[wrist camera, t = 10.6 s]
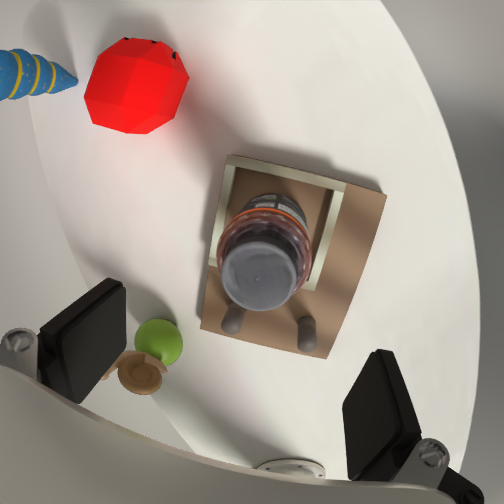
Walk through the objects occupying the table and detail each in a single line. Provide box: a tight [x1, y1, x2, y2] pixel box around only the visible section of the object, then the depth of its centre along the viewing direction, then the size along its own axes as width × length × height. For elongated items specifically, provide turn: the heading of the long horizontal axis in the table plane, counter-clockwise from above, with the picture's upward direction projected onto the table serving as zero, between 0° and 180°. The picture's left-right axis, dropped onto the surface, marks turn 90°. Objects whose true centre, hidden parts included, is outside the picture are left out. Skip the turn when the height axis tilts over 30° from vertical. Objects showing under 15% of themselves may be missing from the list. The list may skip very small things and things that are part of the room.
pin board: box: [200, 155, 387, 359], centre depth 26 cm, size 18×14×5 cm
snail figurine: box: [100, 319, 183, 395], centre depth 27 cm, size 5×6×12 cm
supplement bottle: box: [216, 193, 312, 311], centre depth 20 cm, size 6×6×11 cm
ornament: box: [0, 49, 78, 101], centre depth 17 cm, size 5×5×15 cm
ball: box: [84, 37, 189, 134], centre depth 21 cm, size 8×8×8 cm
